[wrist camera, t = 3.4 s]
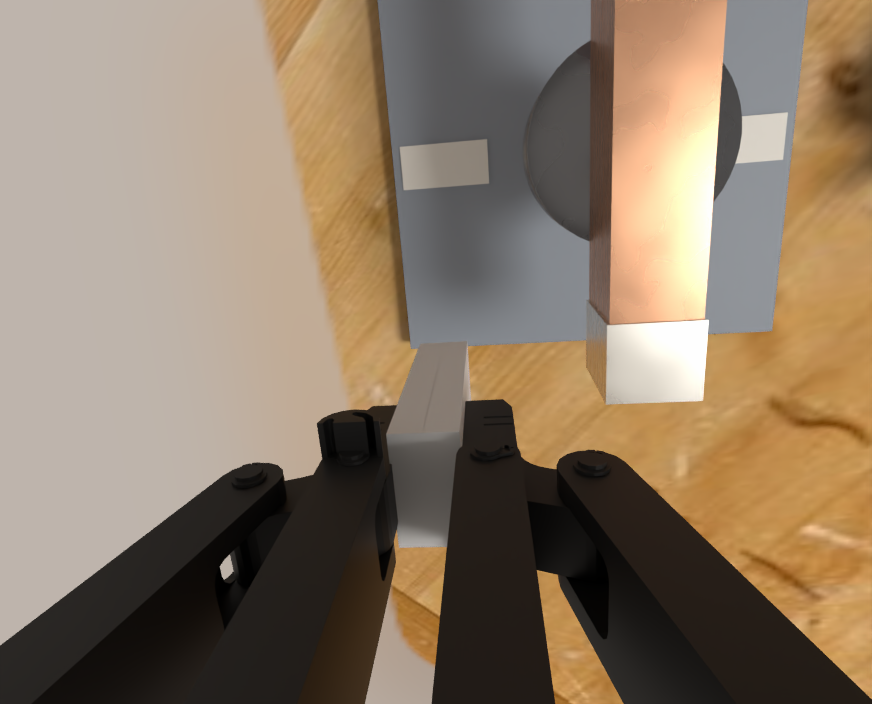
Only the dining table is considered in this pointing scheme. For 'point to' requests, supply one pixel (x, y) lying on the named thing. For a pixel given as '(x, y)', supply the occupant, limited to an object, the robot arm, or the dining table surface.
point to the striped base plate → (506, 181)
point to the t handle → (640, 184)
